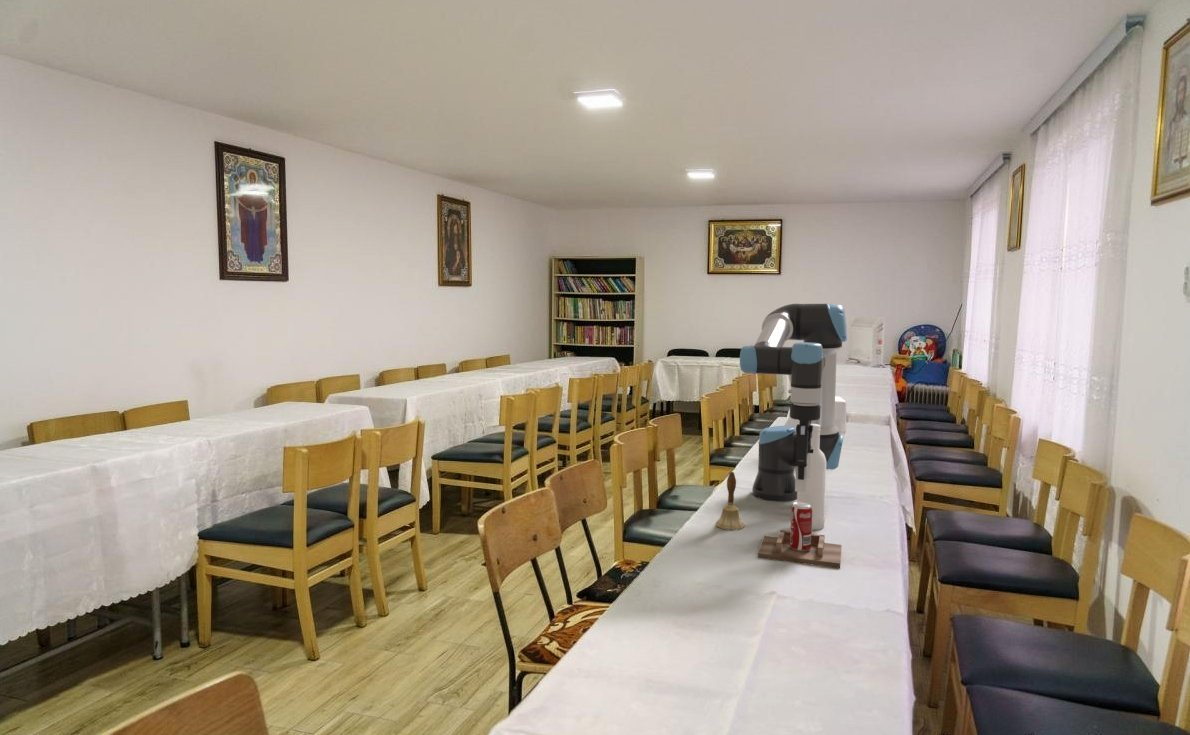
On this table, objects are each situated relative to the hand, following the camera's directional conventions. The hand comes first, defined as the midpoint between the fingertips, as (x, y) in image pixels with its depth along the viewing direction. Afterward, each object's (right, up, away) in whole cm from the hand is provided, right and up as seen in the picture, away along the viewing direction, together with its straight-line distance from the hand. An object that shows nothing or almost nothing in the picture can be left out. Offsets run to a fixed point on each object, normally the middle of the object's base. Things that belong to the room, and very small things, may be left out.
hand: (802, 484), depth 181 cm
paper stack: (+36, -8, +109) cm, 115 cm away
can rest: (0, -18, +2) cm, 18 cm away
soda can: (0, -17, +2) cm, 17 cm away
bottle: (+9, -16, +24) cm, 30 cm away
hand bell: (-14, -16, +24) cm, 32 cm away
